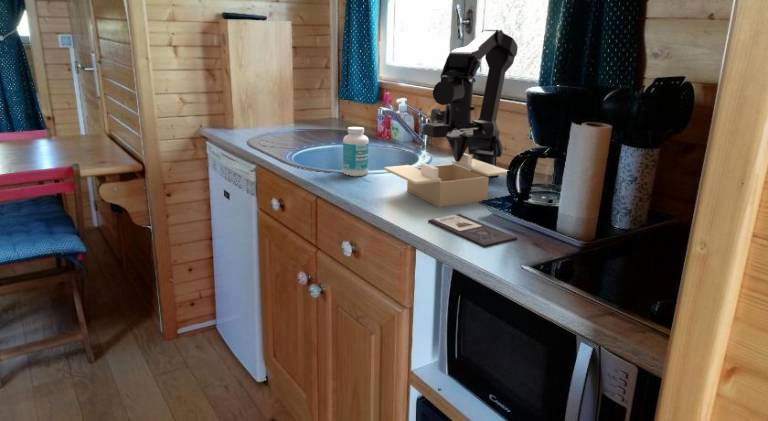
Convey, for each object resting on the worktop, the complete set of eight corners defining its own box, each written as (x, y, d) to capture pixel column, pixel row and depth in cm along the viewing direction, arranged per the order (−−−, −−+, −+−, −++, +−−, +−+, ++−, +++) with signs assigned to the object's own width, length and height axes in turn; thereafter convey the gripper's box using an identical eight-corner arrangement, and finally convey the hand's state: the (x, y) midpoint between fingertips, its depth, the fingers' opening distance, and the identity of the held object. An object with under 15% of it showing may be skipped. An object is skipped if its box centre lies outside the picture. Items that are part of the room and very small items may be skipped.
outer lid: (408, 167, 150) (408, 155, 149) (441, 181, 137) (441, 168, 136) (384, 169, 147) (384, 157, 146) (415, 184, 134) (416, 171, 133)
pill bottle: (358, 178, 164) (358, 130, 160) (337, 174, 168) (337, 128, 163) (373, 173, 170) (373, 127, 166) (352, 169, 174) (352, 124, 169)
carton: (451, 185, 158) (453, 163, 156) (487, 200, 145) (488, 177, 143) (407, 190, 152) (407, 168, 150) (439, 206, 139) (440, 182, 137)
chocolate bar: (484, 245, 113) (428, 219, 127) (484, 249, 113) (428, 224, 127) (517, 237, 118) (459, 213, 132) (516, 241, 118) (459, 217, 132)
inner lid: (473, 160, 159) (473, 149, 158) (510, 173, 146) (511, 161, 145) (451, 162, 156) (452, 151, 155) (487, 176, 142) (488, 163, 142)
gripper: (472, 96, 159) (469, 152, 163) (413, 99, 151) (411, 157, 155) (497, 101, 149) (493, 160, 154) (435, 104, 141) (433, 166, 146)
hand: (457, 161), depth 153 cm, fingers closed
